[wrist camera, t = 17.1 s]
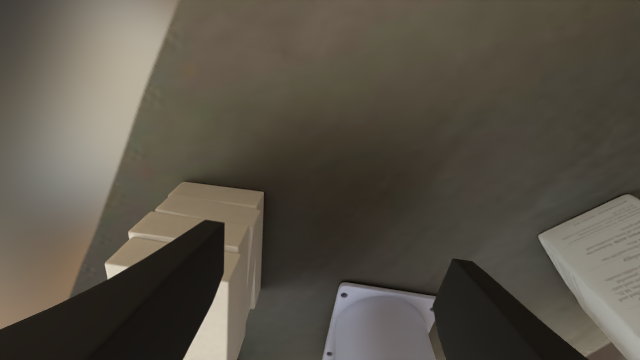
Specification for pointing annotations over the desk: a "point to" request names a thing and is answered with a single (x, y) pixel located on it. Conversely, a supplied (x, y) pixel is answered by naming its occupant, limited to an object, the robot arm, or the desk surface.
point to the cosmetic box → (603, 267)
